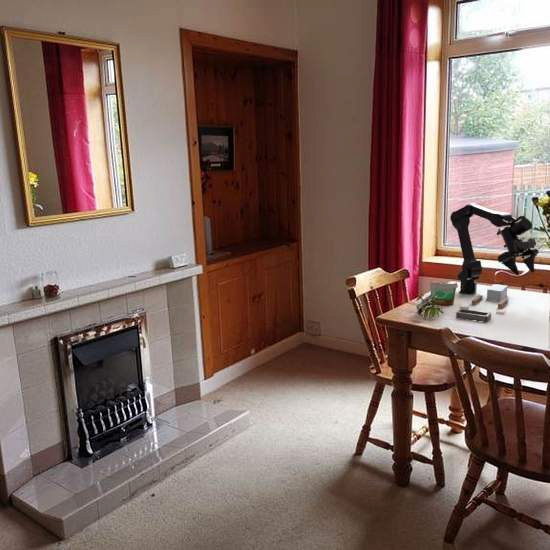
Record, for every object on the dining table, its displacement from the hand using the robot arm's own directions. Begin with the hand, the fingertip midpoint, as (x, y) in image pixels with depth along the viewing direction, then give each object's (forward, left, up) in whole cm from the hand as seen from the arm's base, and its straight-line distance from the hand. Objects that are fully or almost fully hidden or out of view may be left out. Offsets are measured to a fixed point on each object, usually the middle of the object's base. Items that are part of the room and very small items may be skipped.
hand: (525, 273), depth 234 cm
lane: (-13, 0, -15) cm, 20 cm away
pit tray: (-13, -26, -15) cm, 33 cm away
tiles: (-13, -13, -15) cm, 24 cm away
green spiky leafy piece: (-29, -32, -15) cm, 46 cm away
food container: (-30, -13, -15) cm, 36 cm away
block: (-13, +12, -15) cm, 24 cm away
